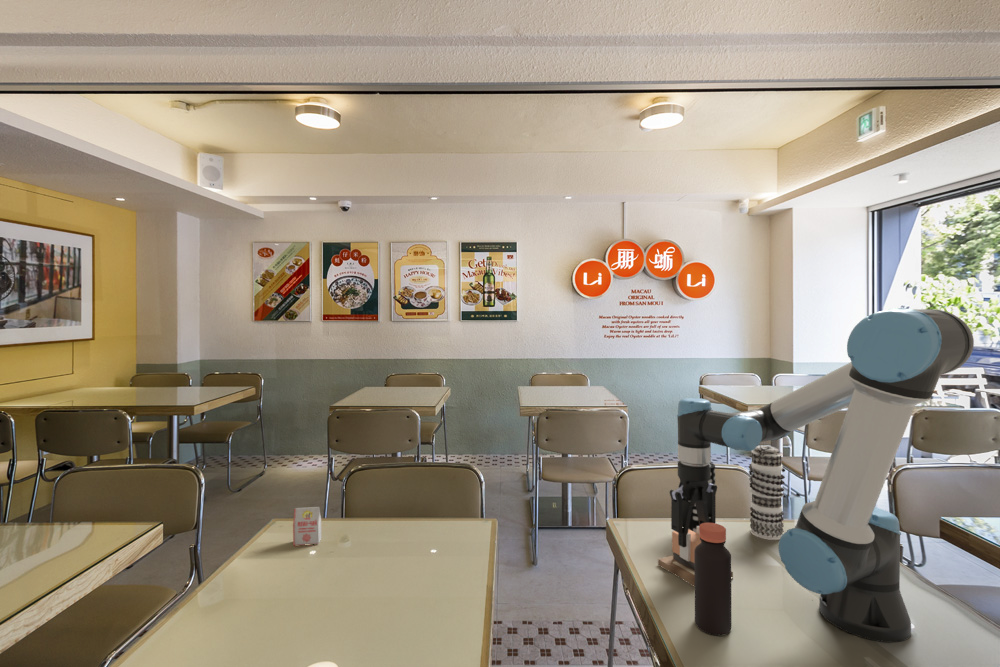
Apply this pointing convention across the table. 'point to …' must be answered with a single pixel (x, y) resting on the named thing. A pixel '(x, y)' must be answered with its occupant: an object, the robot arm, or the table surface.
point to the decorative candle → (766, 492)
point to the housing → (694, 542)
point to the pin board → (680, 567)
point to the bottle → (712, 580)
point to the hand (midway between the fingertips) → (693, 556)
